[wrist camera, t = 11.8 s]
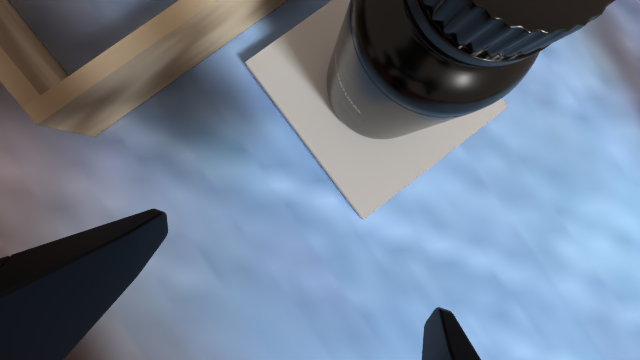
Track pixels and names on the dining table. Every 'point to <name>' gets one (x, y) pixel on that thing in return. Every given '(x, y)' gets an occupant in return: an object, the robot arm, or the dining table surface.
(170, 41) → the crate
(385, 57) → the supplement bottle
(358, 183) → the mat
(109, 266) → the robot arm
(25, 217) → the dining table surface
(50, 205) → the dining table surface
